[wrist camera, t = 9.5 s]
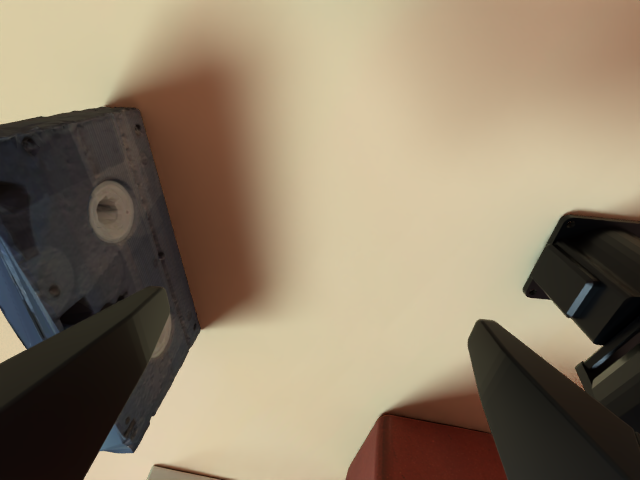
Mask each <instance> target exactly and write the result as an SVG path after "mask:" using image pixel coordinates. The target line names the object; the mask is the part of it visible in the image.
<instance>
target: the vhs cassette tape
mask: <svg viewBox="0 0 640 480" xmlns="http://www.w3.org/2000/svg"><path fill="white" fill-rule="evenodd" d="M148 286H159V287H163V288H165V290H166V293H167V297H168V302H169V306H170V314H169V317H168V319H167V322H166V324H165V326H164V329H163V331H162V333H161V336H160V338H159V340H158V343H157V345H156V347H155V350H154V352H153V354H152V357H151V359H150V361H149V363H148V365H147V367H146V369H145V371H144V373H143V374H142V376H141V378H140V380H139V382H138V383H137V385H136V387H135V389H134V390H133V392H132V394H131V396H130V398H129V399H128V401H127V403H126V405H125V406H124V408H123V410H122V412H121V414H120V415H119V417H118V419H117V421H116V422H115V424H114V426H113V428H112V429H111V431H110V433H109V435H108V437H107V438H106V440H105V442H104V444H103V445H102V447H101V449H100V451H107V452H113V453H134V452H135V450H136V449H137V447H138V445H139V444H140V442H141V440H142V438H143V436H144V434H145V432H146V430H147V429H148V427H149V425H150V419H151V417H152V416H154V415H155V414H156V412H157V409H158V408H159V406H160V405H161V403H162V401H163V399H164V397H165V395H166V393H167V392H168V390H169V388H170V387H171V385H172V383H173V381H174V378H175V376H176V375H177V373H178V371H179V369H180V368H181V366H182V364H183V362H184V360H185V358H186V356H187V354H188V352H189V349H190V348H191V347H192V345H193V343H194V341H195V340H196V338H197V336H198V334H199V333H200V329H201V328H200V325H199V322H198V319H197V313H196V312H195V307H194V303H193V300H192V296H191V293H190V289H189V285H188V281H187V278H186V274H185V271H184V267H183V264H182V260H181V256H180V253H179V249H178V246H177V242H176V239H175V235H174V231H173V228H172V224H171V220H170V217H169V213H168V210H167V206H166V202H165V199H164V195H163V191H162V188H161V184H160V181H159V177H158V174H157V170H156V166H155V163H154V160H153V156H152V152H151V149H150V145H149V142H148V138H147V135H146V131H145V128H144V124H143V121H142V117H141V113H140V111H139V109H136V108H122V107H117V108H116V107H114V108H109V107H99V108H94V109H86V110H82V111H72V112H69V113H61V114H57V115H53V116H49V117H42V116H41V117H36V118H31V119H26V120H21V121H17V122H12V123H6V124H1V125H0V309H1V311H2V312H3V314H4V316H5V318H6V319H7V321H8V322H9V324H10V325H11V327H12V328H13V330H14V332H15V333H16V335H17V336H18V338H19V339H20V341H21V342H22V343H23V345H24V346H25V348H26V349H29V348H31V347H33V346H34V345H36V344H38V343H40V342H42V341H44V340H46V339H48V338H50V337H52V336H54V335H56V334H58V333H59V332H61V331H63V330H65V329H67V328H69V327H71V326H73V325H75V324H77V323H79V322H81V321H82V320H84V319H86V318H88V317H90V316H92V315H94V314H96V313H98V312H100V311H102V310H104V309H105V308H107V307H109V306H111V305H113V304H115V303H117V302H119V301H121V300H123V299H125V298H127V297H128V296H130V295H132V294H134V293H136V292H138V291H140V290H142V289H144V288H146V287H148Z"/></svg>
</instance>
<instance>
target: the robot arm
mask: <svg viewBox="0 0 640 480" xmlns="http://www.w3.org/2000/svg"><path fill="white" fill-rule="evenodd" d="M570 221H571V223H570V224H568V225H567V223H568V222H570ZM531 290H532V291H531ZM523 293H524V294H525V295H526V296H527V297H529V298H538V299H548V300H552V301H553V302H554V304H555V305H556V306H557V307H558V308H559V309H560V310H561V311H562V313H563V314H564V315H565V316H566V317H567V318H571V319H572V320H573V321H574V322H575V323H576V324H577V325H578V326H579V328H580V329H581V330H582V331H583V332H584V333H585V334H586V335H587V336H588V338H589V339H590V340H591V341H592V342H593V343H594V344H596V345H603V346H602V347H601V348H600V349H599V350H598V351H596V352H595V353H594V354H593V355H592V356H591V357H589V358H588V359H587V360H586V361H585V362H583V361H582V362H581V363H580V364H578V365H577V366H576V367H575V369H576V372H577V374H578V376H579V378H580V381H581V383H582V385H583V387H584V390H585V391H584V390H583V389H581V388H580V387H579V386H577V385H576V384H575V383H574V382H572V381H571V380H570V379H569V378H567V377H566V376H565V375H563V374H562V373H561V372H560V371H558V370H557V369H556V368H554V367H553V366H552V365H551V364H549V363H548V362H547V361H545V360H544V359H543V358H542V357H540V356H539V355H538V354H536V353H535V352H534V351H533V350H531V349H530V348H529V347H527V346H526V345H525V344H524V343H522V342H521V341H520V340H518V339H517V338H516V337H515V336H513V335H512V334H511V333H510V332H508V331H507V330H506V329H504V328H503V327H502V326H501V325H499V324H498V323H497V322H495V321H493V320H486V319H479V320H478V321H477V322H476V323H475V325H474V328H473V330H472V332H471V334H470V336H469V339H468V350H469V354H470V358H471V362H472V367H473V371H474V375H475V380H476V384H477V388H478V392H479V396H480V400H481V403H482V406H483V409H484V412H485V415H486V418H487V421H488V424H489V427H490V430H491V433H492V435H493V438H494V441H495V444H496V447H497V450H498V453H499V456H500V459H501V462H502V464H503V467H504V470H505V473H506V476H507V479H508V480H640V221H630V220H619V219H609V218H599V217H589V216H579V215H566V216H564V217H562V218H561V219H560V220H559V222H558V224H557V226H556V227H555V229H554V231H553V233H552V235H551V237H550V239H549V241H548V242H547V244H546V246H545V248H544V250H543V252H542V254H541V256H540V257H539V259H538V261H537V263H536V265H535V267H534V269H533V271H532V272H531V274H530V276H529V278H528V280H527V282H526V284H525V286H524V287H523ZM169 314H170V306H169V302H168V297H167V293H166V290H165V288H163V287H159V286H148V287H146V288H144V289H142V290H140V291H138V292H136V293H134V294H132V295H130V296H128V297H127V298H125V299H123V300H121V301H119V302H117V303H115V304H113V305H111V306H109V307H107V308H105V309H104V310H102V311H100V312H98V313H96V314H94V315H92V316H90V317H88V318H86V319H84V320H82V321H81V322H79V323H77V324H75V325H73V326H71V327H69V328H67V329H65V330H63V331H61V332H59V333H58V334H56V335H54V336H52V337H50V338H48V339H46V340H44V341H42V342H40V343H38V344H36V345H34V346H33V347H31V348H29V349H27V350H25V351H23V352H21V353H19V354H17V355H15V356H13V357H11V358H10V359H8V360H6V361H4V362H2V363H0V480H83V479H84V477H85V476H86V474H87V472H88V470H89V469H90V467H91V465H92V463H93V461H94V460H95V458H96V456H97V454H98V453H99V451H100V449H101V447H102V445H103V444H104V442H105V440H106V438H107V437H108V435H109V433H110V431H111V429H112V428H113V426H114V424H115V422H116V421H117V419H118V417H119V415H120V414H121V412H122V410H123V408H124V406H125V405H126V403H127V401H128V399H129V398H130V396H131V394H132V392H133V390H134V389H135V387H136V385H137V383H138V382H139V380H140V378H141V376H142V374H143V373H144V371H145V369H146V367H147V365H148V363H149V361H150V359H151V357H152V354H153V352H154V350H155V347H156V345H157V343H158V340H159V338H160V336H161V333H162V331H163V329H164V326H165V324H166V322H167V319H168V317H169Z"/></svg>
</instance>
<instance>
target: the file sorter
mask: <svg viewBox="0 0 640 480" xmlns="http://www.w3.org/2000/svg"><path fill="white" fill-rule="evenodd" d="M147 480H220V479H215V478H210V477H205V476H200V475H195V474H190V473H185V472H180V471H175V470H170V469H166V468H161V467H156V466H153V467H152V468H151V470H150V473H149V475H148V477H147Z"/></svg>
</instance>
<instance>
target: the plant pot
mask: <svg viewBox="0 0 640 480" xmlns="http://www.w3.org/2000/svg"><path fill="white" fill-rule="evenodd" d="M346 480H508V479H507V476H506V473H505V470H504V467H503V464H502V462H501V459H500V456H499V453H498V450H497V447H496V444H495V441H494V438H493V435H492V434H489V433H484V432H479V431H473V430H468V429H463V428H458V427H453V426H447V425H442V424H437V423H431V422H426V421H421V420H415V419H410V418H405V417H399V416H394V415H384V416H381V417H379V419H378V420H377V421H376V423H375V425H374V427H373V428H372V430H371V431H370V433H369V435H368V437H367V438H366V440H365V442H364V443H363V445H362V447H361V448H360V450H359V452H358V453H357V455H356V457H355V458H354V460H353V462H352V463H351V465H350V467H349V469H348V473H347V476H346Z"/></svg>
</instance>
